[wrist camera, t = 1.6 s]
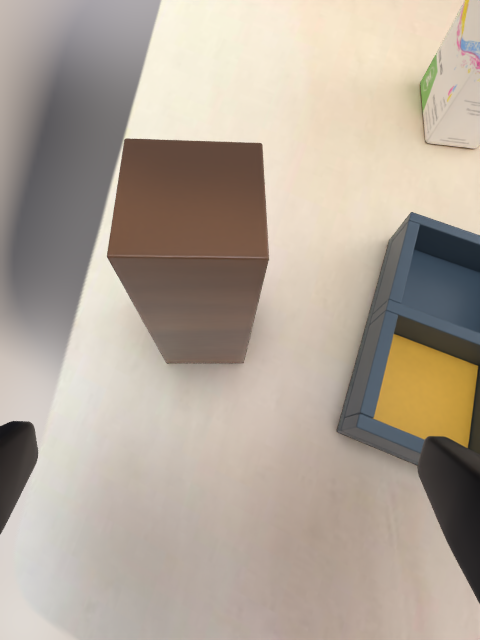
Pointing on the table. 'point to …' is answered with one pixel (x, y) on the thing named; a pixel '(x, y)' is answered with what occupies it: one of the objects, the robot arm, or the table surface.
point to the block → (192, 244)
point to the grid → (420, 344)
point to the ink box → (455, 84)
